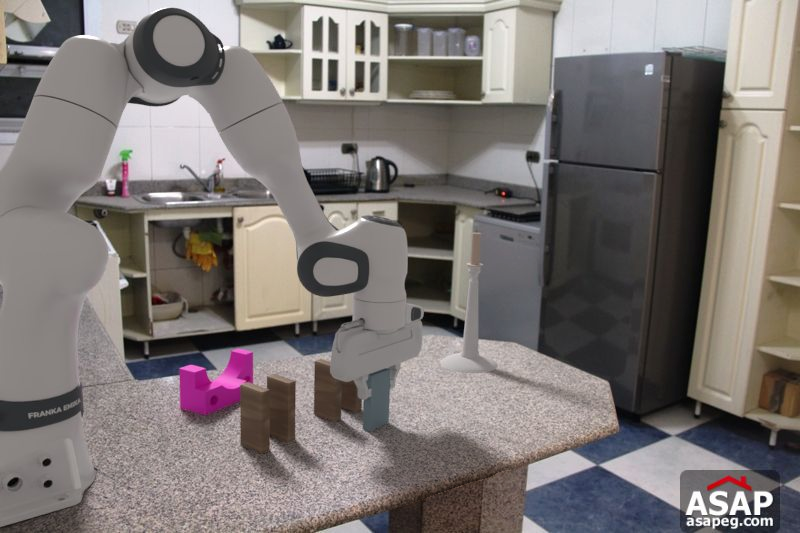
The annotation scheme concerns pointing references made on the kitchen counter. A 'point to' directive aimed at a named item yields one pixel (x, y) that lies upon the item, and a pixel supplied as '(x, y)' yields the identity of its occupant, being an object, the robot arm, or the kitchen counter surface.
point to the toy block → (215, 384)
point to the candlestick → (471, 324)
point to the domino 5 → (377, 400)
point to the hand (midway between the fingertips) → (376, 393)
